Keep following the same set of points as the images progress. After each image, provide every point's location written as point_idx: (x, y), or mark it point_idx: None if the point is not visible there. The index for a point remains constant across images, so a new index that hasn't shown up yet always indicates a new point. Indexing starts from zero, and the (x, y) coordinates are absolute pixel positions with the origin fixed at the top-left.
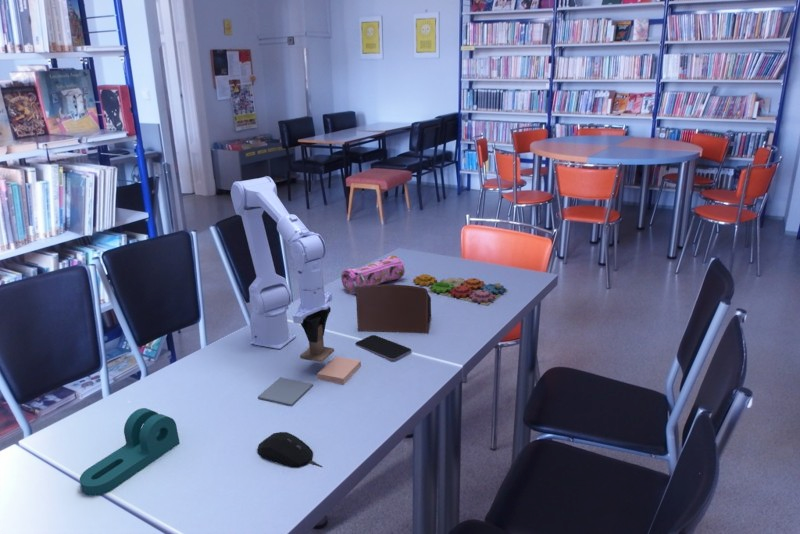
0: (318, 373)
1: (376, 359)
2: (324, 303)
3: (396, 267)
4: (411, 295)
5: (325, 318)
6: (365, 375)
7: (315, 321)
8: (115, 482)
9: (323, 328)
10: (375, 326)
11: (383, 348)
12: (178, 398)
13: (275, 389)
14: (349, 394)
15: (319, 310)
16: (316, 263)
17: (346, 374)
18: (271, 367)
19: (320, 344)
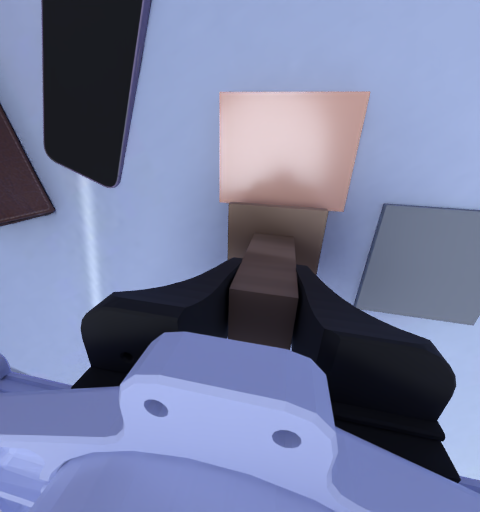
0: (341, 208)
1: (164, 59)
2: (156, 476)
3: None
4: None
5: (200, 291)
6: (282, 40)
7: (437, 352)
8: None
9: (233, 270)
10: (8, 157)
11: (96, 64)
12: (461, 455)
13: (429, 296)
14: (442, 28)
15: (364, 442)
16: None
17: (333, 96)
18: None
19: (275, 248)
